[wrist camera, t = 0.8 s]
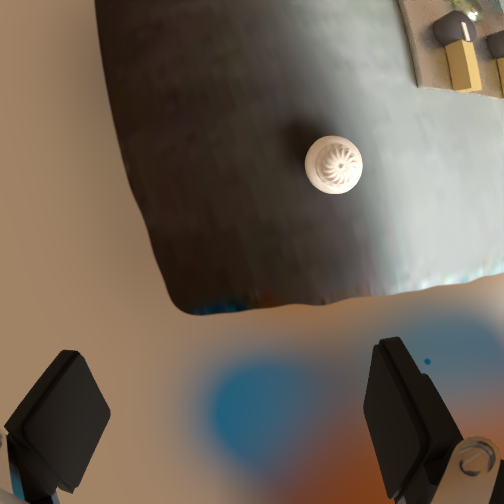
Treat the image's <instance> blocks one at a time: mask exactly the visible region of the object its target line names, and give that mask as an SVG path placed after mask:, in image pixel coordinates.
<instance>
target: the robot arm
mask: <svg viewBox="0 0 504 504" xmlns="http://www.w3.org/2000/svg"><path fill="white" fill-rule="evenodd" d="M363 409H364V415H365V419H366V422H367V425H368V429H369V432H370V435H371V438H372V442H373V445H374V449H375V452H376V456H377V459H378V463H379V466H380V470H381V474H382V478H383V481H384V485H385V489H386V493H387V496H388V498H389V499H392V498H394V501H395V504H402V503H405V502H406V504H504V460H501V459H500V458H501V456H500V452H499V449H498V447H497V446H496V444H495V443H493V442H492V441H491V440H490V439H487V438H485V437H479V436H478V437H477V436H474V437H469V438H467V439H463V437H462V435H461V433H460V431H459V429H458V427H457V425H456V423H455V422H454V420H453V418H452V416H451V414H450V412H449V411H448V409H447V407H446V405H445V403H444V402H443V400H442V398H441V396H440V395H439V393H438V391H437V389H436V388H435V386H434V384H433V382H432V381H431V379H430V378H429V376H428V375H427V374H425V373H423V374H421V372H420V371H419V369H418V367H417V365H416V364H415V362H414V360H413V359H412V357H411V355H410V354H409V352H408V350H407V349H406V347H405V345H404V344H403V342H402V340H401V339H400V338H399V337H392V338H386V339H381V340H380V341H379V344H378V345H375V346H374V348H373V354H372V361H371V366H370V372H369V378H368V384H367V389H366V395H365V400H364V406H363ZM109 419H110V409H109V407H108V405H107V403H106V401H105V399H104V398H103V395H102V394H101V392H100V390H99V388H98V386H97V384H96V382H95V380H94V378H93V376H92V374H91V372H90V369H89V367H88V365H87V363H86V361H85V359H84V357H83V356H81V354H80V353H79V352H78V351H73V350H62V351H61V352H60V353H59V354H58V356H57V357H56V358H55V359H54V361H53V362H52V363H51V364H50V366H49V367H48V368H47V369H46V371H45V372H44V373H43V374H42V376H41V377H40V378H39V379H38V381H37V382H36V383H35V385H34V386H33V387H32V389H31V390H30V391H29V393H28V394H27V395H26V396H25V398H24V399H23V401H22V402H21V403H20V404H19V406H18V407H17V409H16V410H15V412H14V413H13V414H12V415H11V417H10V418H9V420H8V421H7V422H6V424H5V425H4V427H5V428H6V430H7V431H8V432H9V434H8V435H6V434H5V433H4V431H2V430H1V429H0V504H60V502H59V500H58V496H57V493H56V488H57V486H58V487H59V488H60V489H61V490H63V491H66V492H69V493H71V494H73V491H74V489H75V488H76V487H78V486H79V484H80V482H81V480H82V477H83V475H84V473H85V471H86V468H87V466H88V464H89V462H90V459H91V457H92V455H93V453H94V451H95V448H96V446H97V444H98V442H99V440H100V438H101V435H102V433H103V431H104V429H105V427H106V425H107V423H108V421H109Z"/></svg>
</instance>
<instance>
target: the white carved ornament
mask: <svg viewBox="0 0 504 504" xmlns="http://www.w3.org/2000/svg"><path fill="white" fill-rule="evenodd" d="M305 170H306V174H307V176H308V178H309V180H310V182H311V183H312V184H313V185H314V186H315V187H316V188H317V189H319V190H321V191H323V192H326V193H330V194H340V193H344V192H347V191H349V190H350V189H351V188H353V187H354V186H355V184H356V183H357V182H358V180H359V178H360V176H361V173H362V158H361V155H360V153H359V151H358V149H357V148H356V146H355V145H354V144H353V143H352V142H350V141H349V140H347V139H345V138H343V137H339V136H325V137H322V138H320V139H318V140H317V141H316V142H314V143H313V145H312V146H311V147H310V149H309V150H308V153H307V155H306V159H305Z"/></svg>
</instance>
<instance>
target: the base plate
mask: <svg viewBox="0 0 504 504" xmlns="http://www.w3.org/2000/svg"><path fill="white" fill-rule="evenodd" d="M398 2H399V6H400V9H401V13H402V16H403V20H404V24H405V27H406V31H407V35H408V40H409V44H410V48H411V53H412V58H413V63H414V68H415V73H416V79H417V85H418V88H422V89H432V90H442V91H450V92H456V91H454V90H453V84H452V78H451V72H450V67H449V62H448V57H447V53H446V48H445V46H444V45H443V44H441V43H440V41H439V40H438V39H437V37H436V36H435V34H434V30H433V24H434V22H435V21H436V20H438V19H439V18H441V17H443V16H444V15H446V14H448V13H450V12H451V11H454V10H457V11H460V12H462V13H464V14H465V15H467V16H468V17H469V18H470V20H471V21H472V22H473V24H474V26H475V28H476V32H477V37H476V40H475V41H474V42H473V46H474V51H475V55H476V59H477V64H478V69H479V74H480V80H481V86H482V90H479V91H472V92H466V93H464V94H470V95H476V96H482V97H488V98H493V99H498V100H502V101H504V95H503V88H502V82H501V77H500V72H499V67H498V62H497V59H496V58H495V57H494V56H493V54H492V53H491V51H490V49H489V46H488V42H487V39H488V36H489V35H490V34H493V33H496V32H499V31H502V30H504V14H503V11H502V8H501V5H500V2H499V0H398ZM457 93H463V92H457Z"/></svg>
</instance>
